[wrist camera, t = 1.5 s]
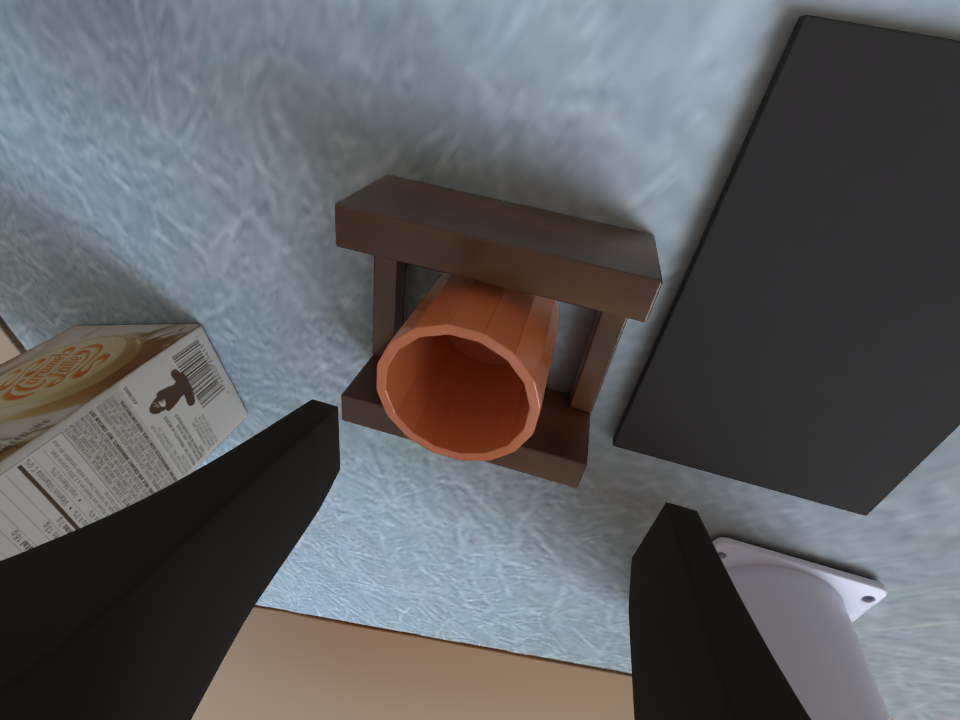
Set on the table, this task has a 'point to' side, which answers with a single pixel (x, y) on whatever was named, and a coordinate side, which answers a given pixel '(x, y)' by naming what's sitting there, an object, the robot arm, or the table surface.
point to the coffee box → (105, 424)
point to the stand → (506, 263)
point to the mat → (823, 280)
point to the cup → (470, 368)
